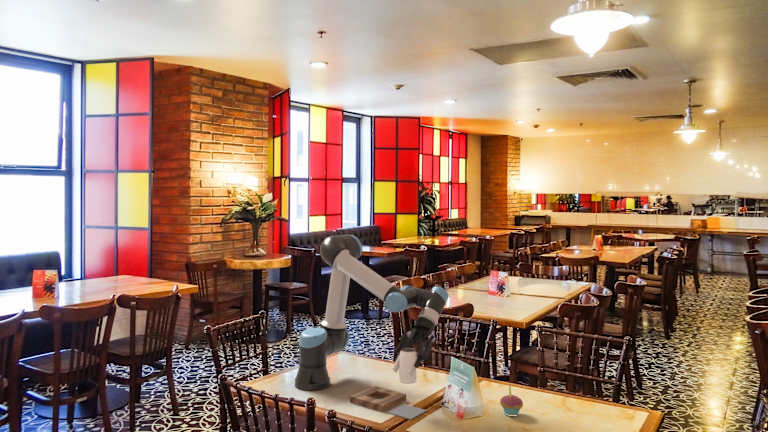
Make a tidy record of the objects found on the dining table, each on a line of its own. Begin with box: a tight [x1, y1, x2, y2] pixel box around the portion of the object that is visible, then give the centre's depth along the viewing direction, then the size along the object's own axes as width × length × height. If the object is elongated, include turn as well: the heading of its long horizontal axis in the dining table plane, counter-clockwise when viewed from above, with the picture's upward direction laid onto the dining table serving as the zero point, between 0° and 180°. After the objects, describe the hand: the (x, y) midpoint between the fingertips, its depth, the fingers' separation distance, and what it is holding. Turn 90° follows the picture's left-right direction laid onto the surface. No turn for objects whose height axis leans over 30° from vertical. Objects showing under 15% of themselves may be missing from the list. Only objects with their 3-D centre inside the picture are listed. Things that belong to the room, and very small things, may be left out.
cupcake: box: [499, 385, 524, 415], centre depth 216 cm, size 9×8×12 cm
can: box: [398, 347, 418, 385], centre depth 216 cm, size 6×6×12 cm
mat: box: [386, 403, 428, 421], centre depth 217 cm, size 11×11×1 cm
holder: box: [349, 385, 407, 413], centre depth 227 cm, size 16×16×2 cm
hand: (402, 372), depth 214 cm, fingers closed on can, 6 cm apart
